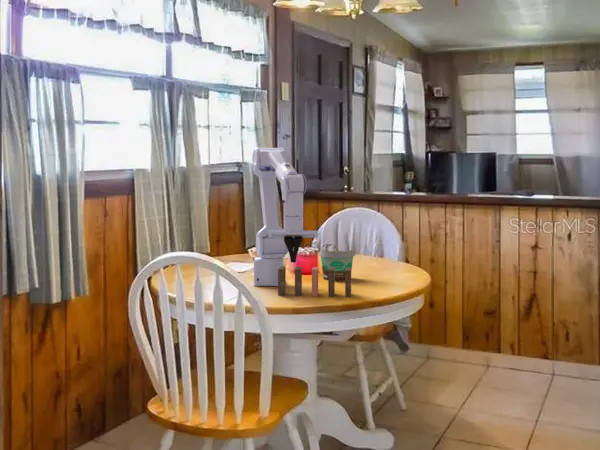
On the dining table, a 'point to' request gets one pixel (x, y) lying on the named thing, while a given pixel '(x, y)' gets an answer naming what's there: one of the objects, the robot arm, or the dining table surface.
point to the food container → (336, 263)
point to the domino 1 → (281, 281)
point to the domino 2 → (298, 281)
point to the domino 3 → (314, 281)
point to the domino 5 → (348, 282)
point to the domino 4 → (331, 281)
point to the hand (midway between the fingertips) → (293, 261)
